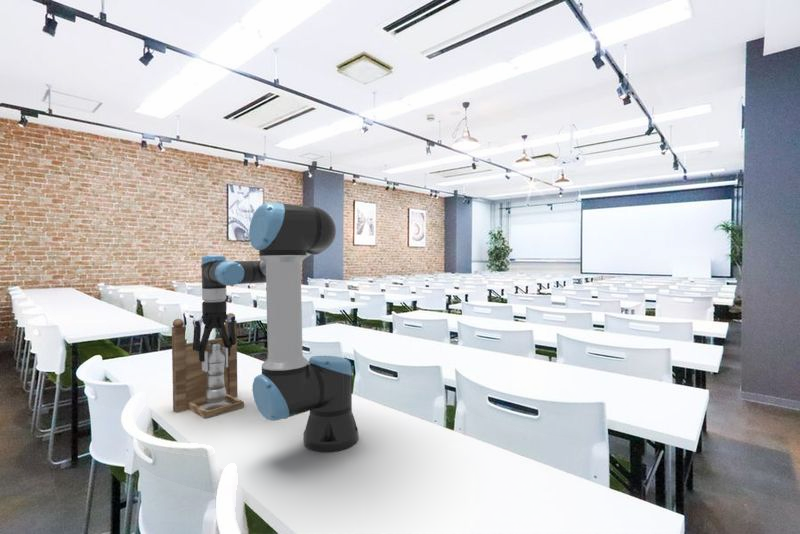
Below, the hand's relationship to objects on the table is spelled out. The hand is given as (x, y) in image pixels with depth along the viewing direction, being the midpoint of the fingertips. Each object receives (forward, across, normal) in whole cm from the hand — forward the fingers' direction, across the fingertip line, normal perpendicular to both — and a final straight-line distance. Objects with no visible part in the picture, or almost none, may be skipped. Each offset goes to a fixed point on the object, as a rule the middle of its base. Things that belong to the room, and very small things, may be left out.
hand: (215, 368), depth 140 cm
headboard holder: (+14, 0, 0) cm, 14 cm away
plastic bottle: (+12, 0, 0) cm, 12 cm away
